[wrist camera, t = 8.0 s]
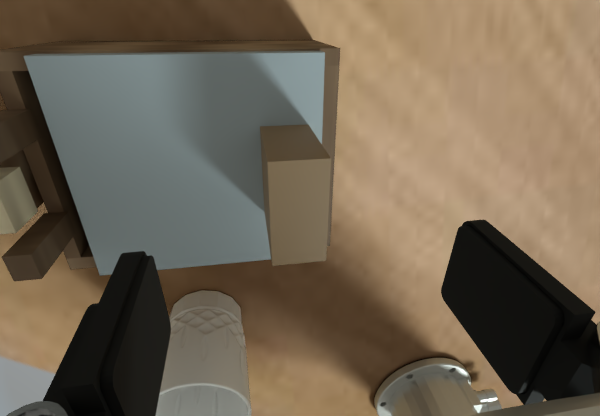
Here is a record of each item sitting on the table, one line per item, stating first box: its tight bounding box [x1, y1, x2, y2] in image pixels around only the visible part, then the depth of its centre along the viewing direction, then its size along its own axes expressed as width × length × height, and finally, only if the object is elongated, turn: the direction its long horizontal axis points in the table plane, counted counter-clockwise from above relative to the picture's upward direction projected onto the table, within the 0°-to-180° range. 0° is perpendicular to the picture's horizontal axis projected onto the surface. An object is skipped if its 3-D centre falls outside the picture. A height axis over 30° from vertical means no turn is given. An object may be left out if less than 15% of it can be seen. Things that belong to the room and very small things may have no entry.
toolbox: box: [0, 40, 340, 281], centre depth 20 cm, size 20×12×11 cm, turn 90°
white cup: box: [156, 290, 251, 416], centre depth 29 cm, size 8×8×10 cm
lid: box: [24, 51, 331, 276], centre depth 17 cm, size 13×12×6 cm
